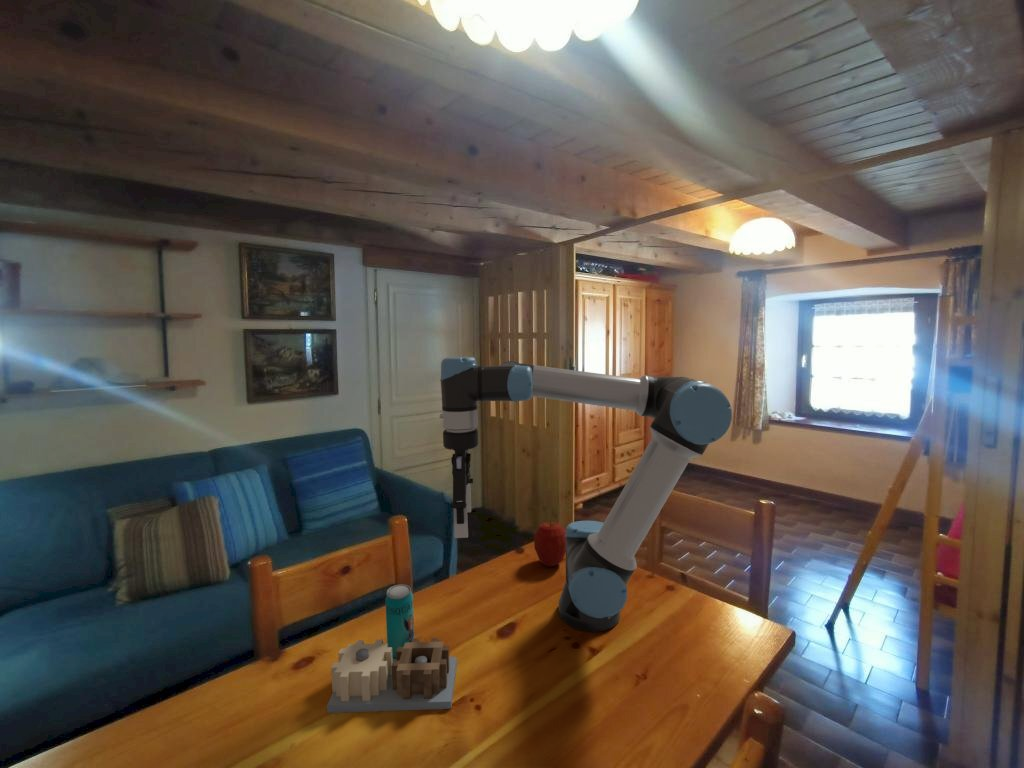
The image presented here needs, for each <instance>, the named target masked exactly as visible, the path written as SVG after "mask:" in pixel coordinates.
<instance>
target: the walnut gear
mask: <svg viewBox="0 0 1024 768" xmlns="http://www.w3.org/2000/svg"><path fill="white" fill-rule="evenodd" d="M444 642H445V641H439V637H432V638H431V639H430V641H420V638H419V637H417V638H414V639H412V642H407V643H405V644H404V647H398V648H397V651H396V658H397V661H393V663H392V687H393V690H397V695H403V700H404V699H411V695H412V694H424V699H432V694H439V693H440V688H447V673H449V657H450V645H445V643H444ZM419 656H425V657H426V658H427V663H415V659H416V658H417V657H419Z"/></svg>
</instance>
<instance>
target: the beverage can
mask: <svg viewBox="0 0 1024 768" xmlns="http://www.w3.org/2000/svg"><path fill="white" fill-rule="evenodd" d="M385 621H386V643H388V647H392V658H393V659H397V658H396V651H397V648H398V647H404V644H405V643H407V642H412V639H415V625H414V596H413V593H412V589H411V586H409V585H407V584H402V583H401V584H395V585H393V586H391V587H389V588H388V589H387V591H386V597H385Z"/></svg>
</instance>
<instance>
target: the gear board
mask: <svg viewBox="0 0 1024 768" xmlns="http://www.w3.org/2000/svg"><path fill="white" fill-rule="evenodd" d="M393 661H397V659H393V658H392V647H388V643H387V642H384V639H375V641H374V642H373V643H364V639H357V640H356V641H355V643H349V644H348V645H347V646H346V648H345V647H344V648H340V650H339V651H338V661H335V662H332V665H331V667H330V673H331V674H330V675H331V691H332V694H331V696H330V698H329V701H328V703H327V704H326V708H327V709H326V710H327V714H331V713H333V714H334V713H358V712H359V713H360V712H389V711H393V712H394V711H422V710H423V711H424V710H428V711H429V710H451V709H452V706H453V705H452V704H453V699H454V691H455V683H456V673H457V668H458V658H457V656H449V673H447V688H440V693H439V694H432V699H424V694H412V695H411V699H404V700H403V695H397V690H393V687H392V663H393ZM415 663H427V658H426V657H425V656H419V657H417V658H416V659H415Z"/></svg>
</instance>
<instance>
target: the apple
mask: <svg viewBox="0 0 1024 768" xmlns="http://www.w3.org/2000/svg"><path fill="white" fill-rule="evenodd" d="M565 535H566V529H564V528H563V527H562V525H560V524H559V523H557V522H554V521H551V519H550V520H549V521H547V522H543V523H540V526H538V528H537V529H536V531H535V534H534V535H533V536H534V537H533V541H534V542H533V545H534V550H535V553H536V554H537V557H538V559H539V561H540V562H541V563H542V564H543V565H545V567H548V568H549V567H550V568H551V567H555V566H556V565H557V566H558V564H560V563H561V562H562V561H563V559H564V557H565V555H566V537H565Z"/></svg>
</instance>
